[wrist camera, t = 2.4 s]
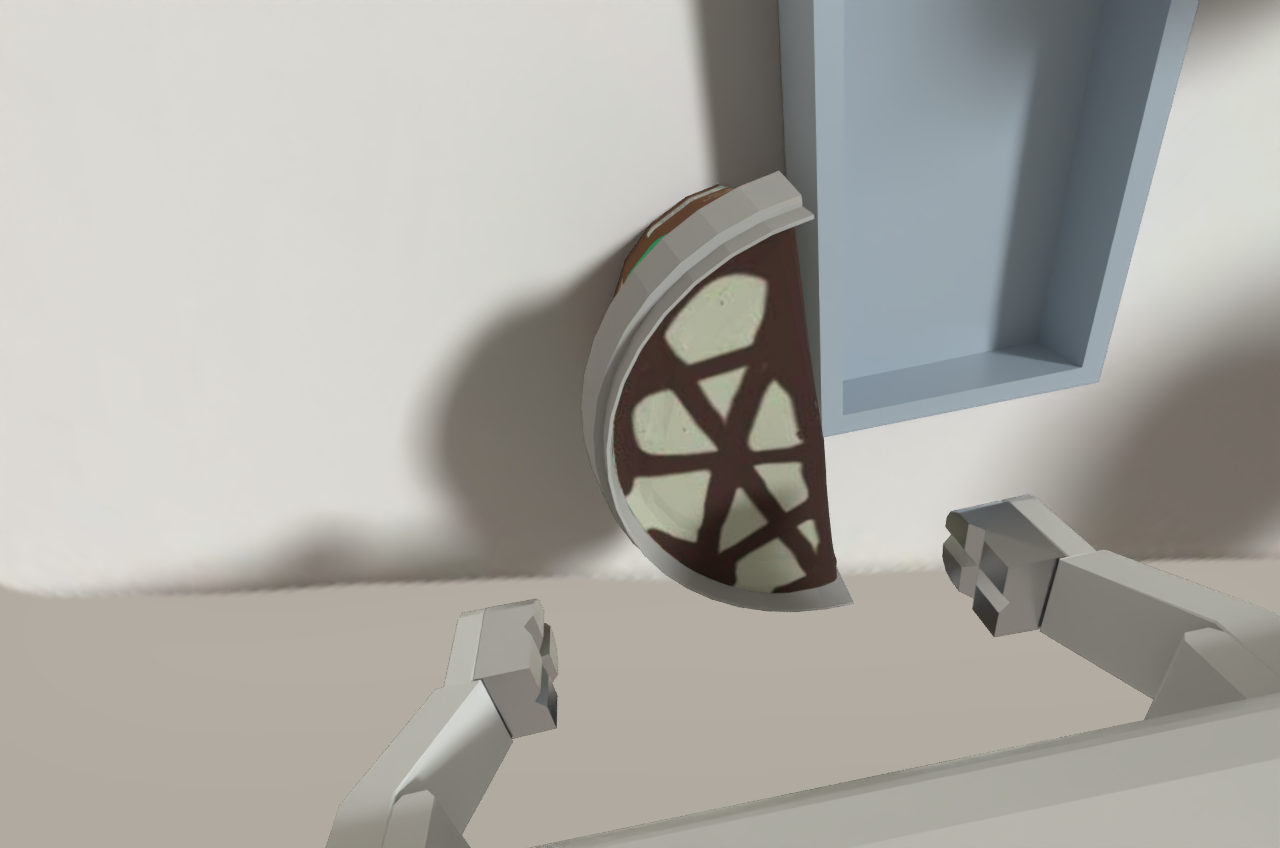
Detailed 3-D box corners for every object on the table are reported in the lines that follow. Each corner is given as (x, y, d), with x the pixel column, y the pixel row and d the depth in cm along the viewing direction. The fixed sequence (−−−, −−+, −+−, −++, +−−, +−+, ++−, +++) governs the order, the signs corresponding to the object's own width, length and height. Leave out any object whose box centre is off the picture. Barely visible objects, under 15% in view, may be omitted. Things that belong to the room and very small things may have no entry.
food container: (533, 191, 20) (497, 277, 11) (709, 137, 19) (811, 185, 11) (629, 472, 26) (653, 665, 17) (763, 436, 26) (855, 615, 17)
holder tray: (1151, -195, 16) (1265, -250, 13) (1042, 349, 25) (1098, 382, 22) (772, -113, 16) (810, -150, 14) (796, 399, 25) (822, 437, 22)
